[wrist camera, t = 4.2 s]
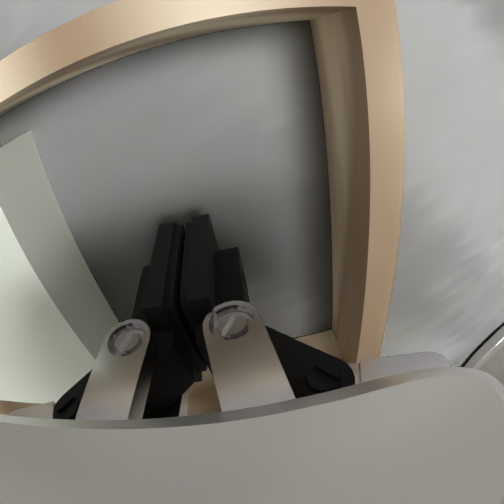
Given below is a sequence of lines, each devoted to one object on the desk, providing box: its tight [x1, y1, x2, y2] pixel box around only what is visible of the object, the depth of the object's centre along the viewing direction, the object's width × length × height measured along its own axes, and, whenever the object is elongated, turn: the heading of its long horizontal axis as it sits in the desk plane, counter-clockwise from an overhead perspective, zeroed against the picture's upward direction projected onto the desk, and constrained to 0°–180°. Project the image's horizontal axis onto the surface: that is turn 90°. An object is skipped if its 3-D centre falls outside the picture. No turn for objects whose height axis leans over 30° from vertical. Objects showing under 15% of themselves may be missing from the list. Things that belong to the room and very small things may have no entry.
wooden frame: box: [0, 0, 405, 416], centre depth 10 cm, size 26×16×4 cm, turn 100°
